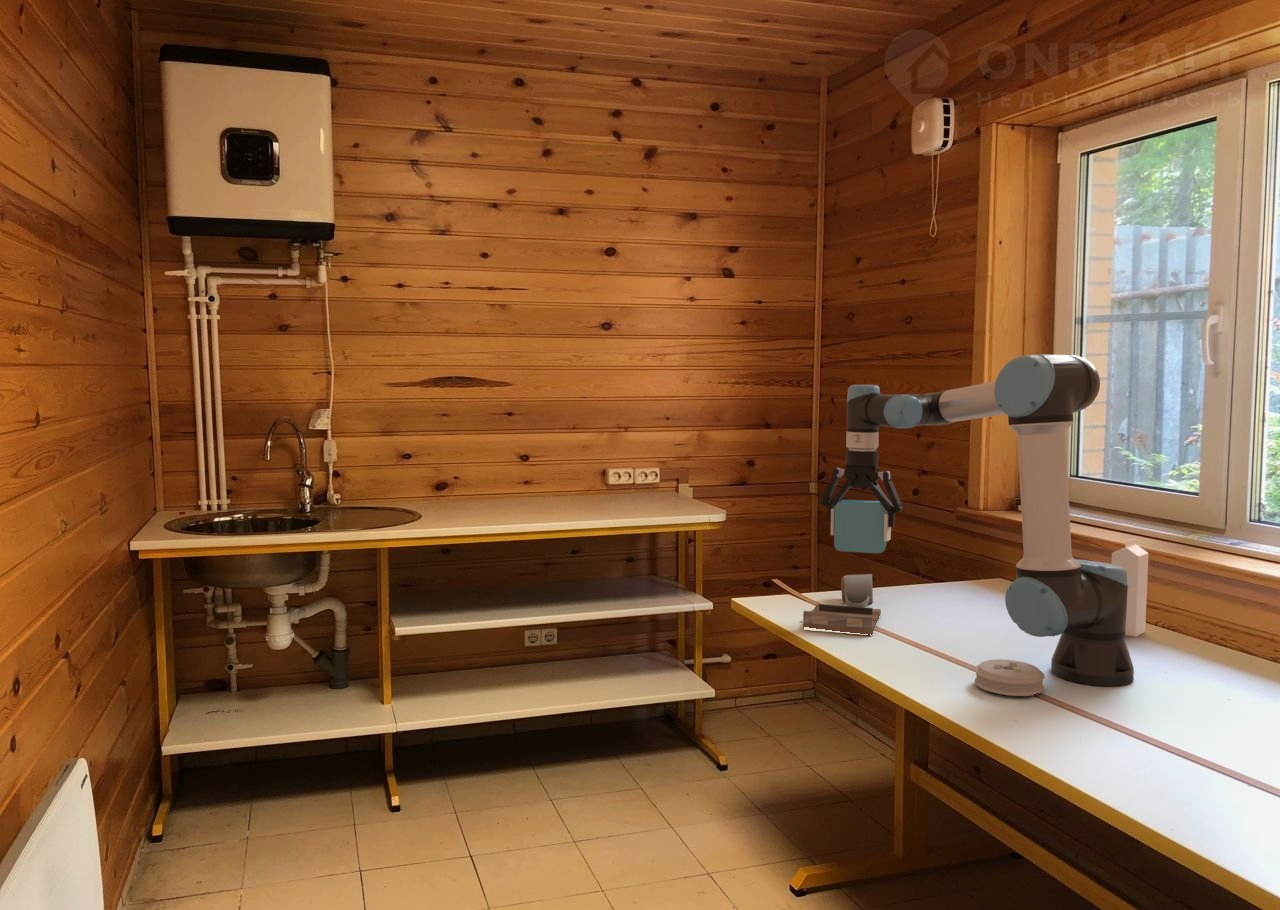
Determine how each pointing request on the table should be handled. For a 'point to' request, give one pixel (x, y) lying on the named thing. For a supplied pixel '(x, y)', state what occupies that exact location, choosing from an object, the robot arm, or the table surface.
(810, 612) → the brown tray
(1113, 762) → the table surface
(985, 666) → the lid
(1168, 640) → the table surface
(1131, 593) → the milk
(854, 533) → the teal rounded flat block
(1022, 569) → the robot arm
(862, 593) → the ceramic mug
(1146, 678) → the table surface
